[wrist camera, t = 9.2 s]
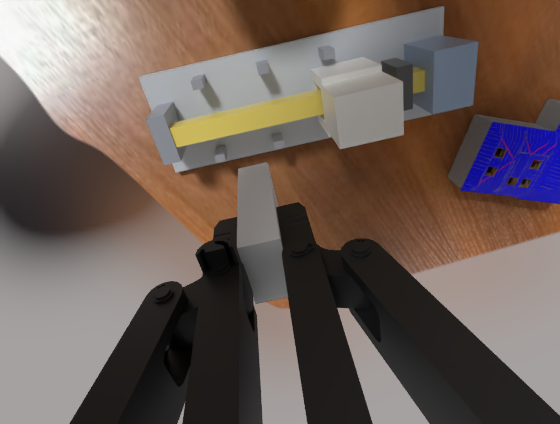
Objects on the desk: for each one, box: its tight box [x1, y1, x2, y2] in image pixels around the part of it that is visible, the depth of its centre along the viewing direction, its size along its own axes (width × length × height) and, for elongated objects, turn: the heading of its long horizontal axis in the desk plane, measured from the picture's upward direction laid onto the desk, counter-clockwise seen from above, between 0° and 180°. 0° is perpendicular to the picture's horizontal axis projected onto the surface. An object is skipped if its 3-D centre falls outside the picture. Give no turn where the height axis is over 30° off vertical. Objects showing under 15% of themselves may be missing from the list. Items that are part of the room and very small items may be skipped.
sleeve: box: [311, 57, 404, 149], centre depth 30 cm, size 5×5×9 cm
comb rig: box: [139, 6, 479, 172], centre depth 33 cm, size 29×10×7 cm, turn 101°
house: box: [447, 99, 560, 204], centre depth 39 cm, size 11×15×5 cm
